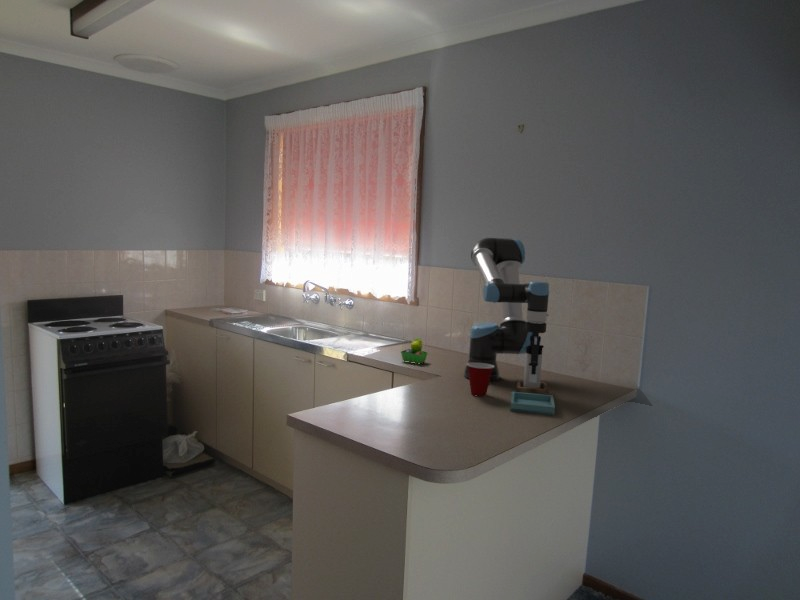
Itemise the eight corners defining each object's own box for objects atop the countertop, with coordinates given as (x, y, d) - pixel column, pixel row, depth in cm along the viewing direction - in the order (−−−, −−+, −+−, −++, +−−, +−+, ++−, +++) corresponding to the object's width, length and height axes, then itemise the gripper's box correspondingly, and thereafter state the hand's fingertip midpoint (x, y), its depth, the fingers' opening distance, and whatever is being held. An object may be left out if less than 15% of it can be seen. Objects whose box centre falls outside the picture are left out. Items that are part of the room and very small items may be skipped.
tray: (510, 411, 199) (510, 402, 199) (511, 399, 214) (511, 391, 213) (554, 415, 196) (554, 407, 195) (552, 403, 210) (552, 395, 210)
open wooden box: (516, 397, 216) (516, 387, 215) (516, 389, 227) (517, 380, 227) (547, 400, 213) (548, 390, 213) (546, 392, 225) (546, 382, 224)
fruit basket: (399, 361, 268) (400, 338, 266) (409, 358, 275) (409, 336, 274) (420, 365, 262) (421, 341, 260) (429, 362, 269) (430, 339, 268)
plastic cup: (496, 392, 221) (498, 363, 220) (488, 399, 212) (490, 368, 210) (469, 388, 226) (471, 359, 224) (460, 395, 216) (462, 364, 215)
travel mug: (537, 398, 216) (540, 347, 213) (520, 395, 219) (523, 344, 217) (542, 394, 221) (545, 344, 219) (526, 391, 225) (529, 342, 222)
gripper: (547, 326, 206) (543, 387, 208) (545, 318, 226) (541, 373, 229) (526, 325, 207) (522, 385, 210) (526, 317, 228) (522, 371, 231)
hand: (532, 379), depth 219 cm, fingers open, 9 cm apart
